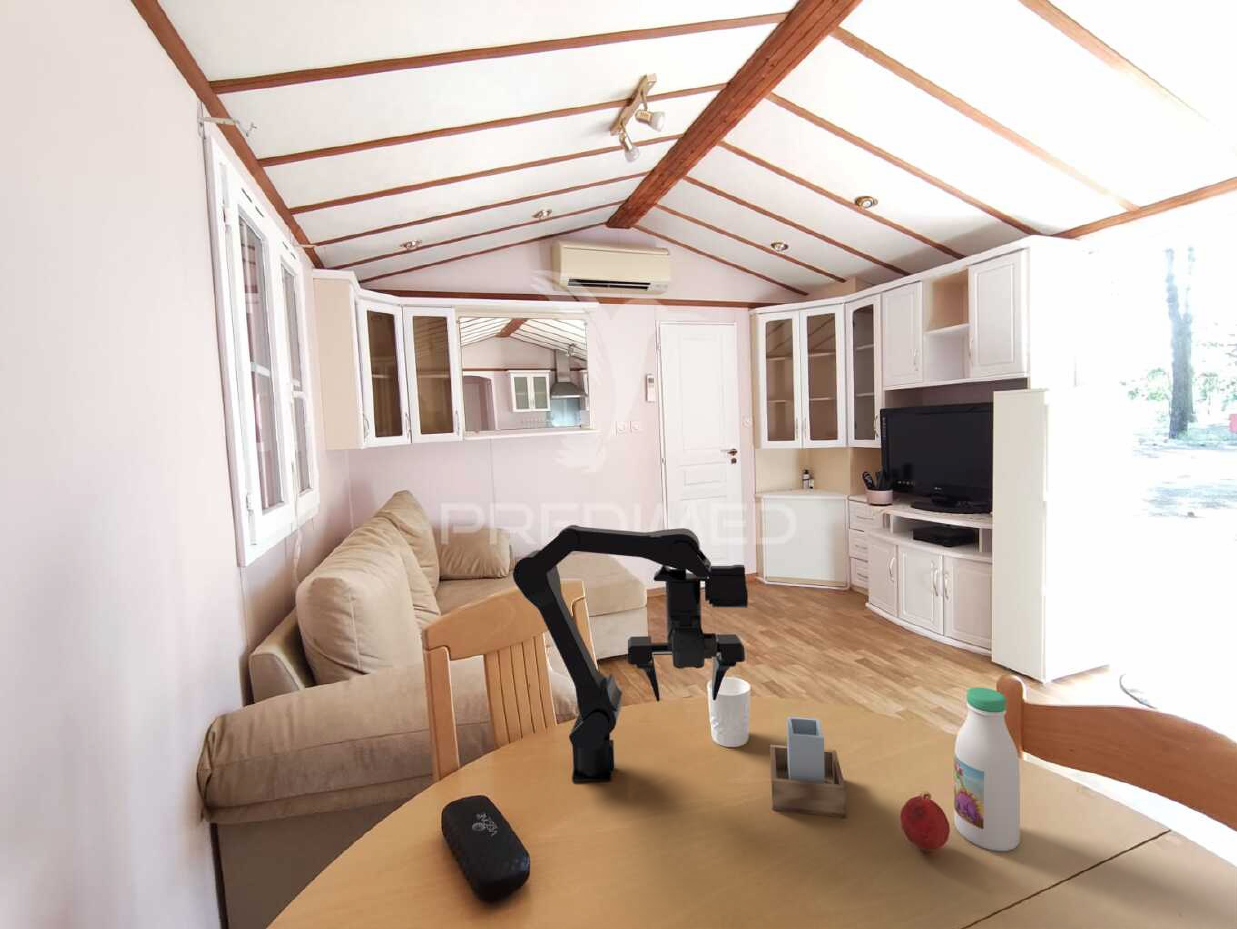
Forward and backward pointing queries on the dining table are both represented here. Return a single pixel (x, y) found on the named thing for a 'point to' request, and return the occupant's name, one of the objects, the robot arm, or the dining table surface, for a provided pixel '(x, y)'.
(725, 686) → the white cup
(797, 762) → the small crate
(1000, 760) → the milk bottle
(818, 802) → the big crate
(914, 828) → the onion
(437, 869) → the dining table surface
